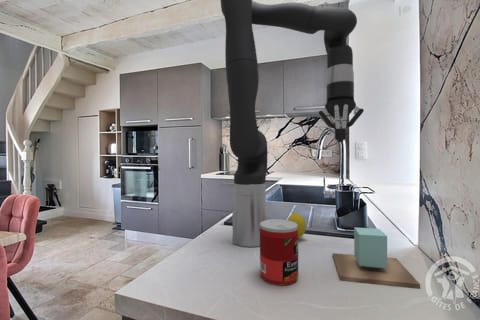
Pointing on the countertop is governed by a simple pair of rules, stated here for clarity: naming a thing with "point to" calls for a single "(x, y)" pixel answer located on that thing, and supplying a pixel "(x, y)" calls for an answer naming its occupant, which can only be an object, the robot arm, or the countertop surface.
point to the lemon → (298, 223)
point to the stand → (374, 272)
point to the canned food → (279, 251)
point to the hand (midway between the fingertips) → (340, 141)
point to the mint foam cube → (370, 247)
